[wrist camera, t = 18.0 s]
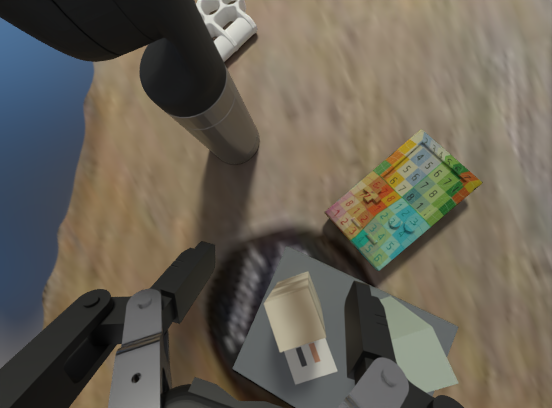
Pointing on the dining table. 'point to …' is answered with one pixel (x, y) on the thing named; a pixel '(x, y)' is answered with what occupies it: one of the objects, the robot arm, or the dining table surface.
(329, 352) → the board
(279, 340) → the birch block
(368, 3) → the dining table surface
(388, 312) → the sage block
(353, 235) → the puzzle game
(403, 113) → the dining table surface
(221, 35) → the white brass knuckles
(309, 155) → the dining table surface
